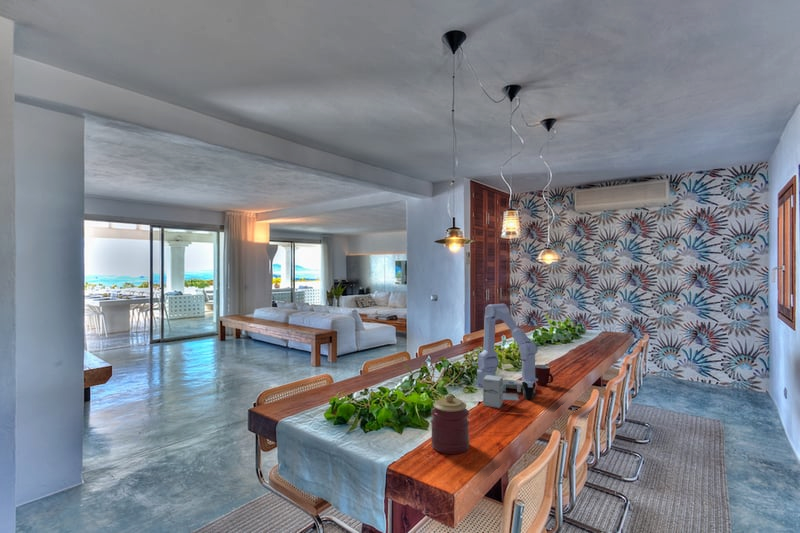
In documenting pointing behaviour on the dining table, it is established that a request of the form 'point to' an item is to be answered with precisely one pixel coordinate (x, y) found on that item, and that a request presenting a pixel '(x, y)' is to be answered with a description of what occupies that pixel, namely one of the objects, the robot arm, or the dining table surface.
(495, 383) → the supplement box
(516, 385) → the socket bar
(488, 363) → the robot arm
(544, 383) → the mug
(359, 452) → the dining table surface
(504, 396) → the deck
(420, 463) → the dining table surface
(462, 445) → the canister
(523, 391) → the plug
